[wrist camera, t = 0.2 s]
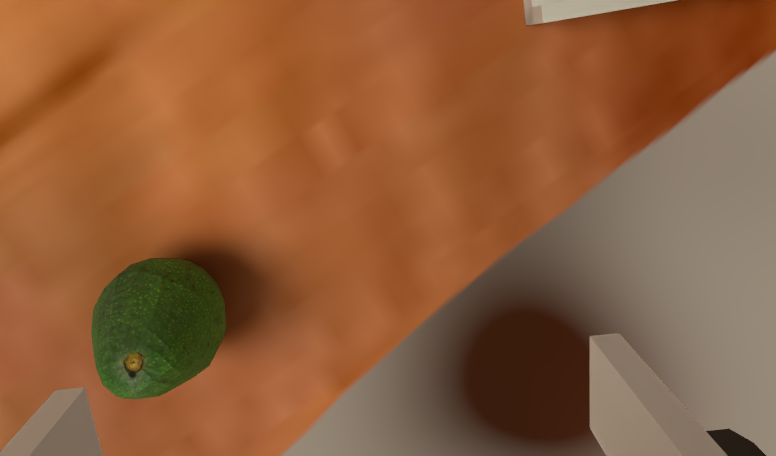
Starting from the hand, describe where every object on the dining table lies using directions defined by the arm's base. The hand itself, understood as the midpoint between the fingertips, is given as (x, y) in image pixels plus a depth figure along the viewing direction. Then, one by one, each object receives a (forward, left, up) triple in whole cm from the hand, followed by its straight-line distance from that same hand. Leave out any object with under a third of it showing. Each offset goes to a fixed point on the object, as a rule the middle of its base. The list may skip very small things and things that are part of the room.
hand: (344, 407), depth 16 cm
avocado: (+6, -13, -28) cm, 31 cm away
